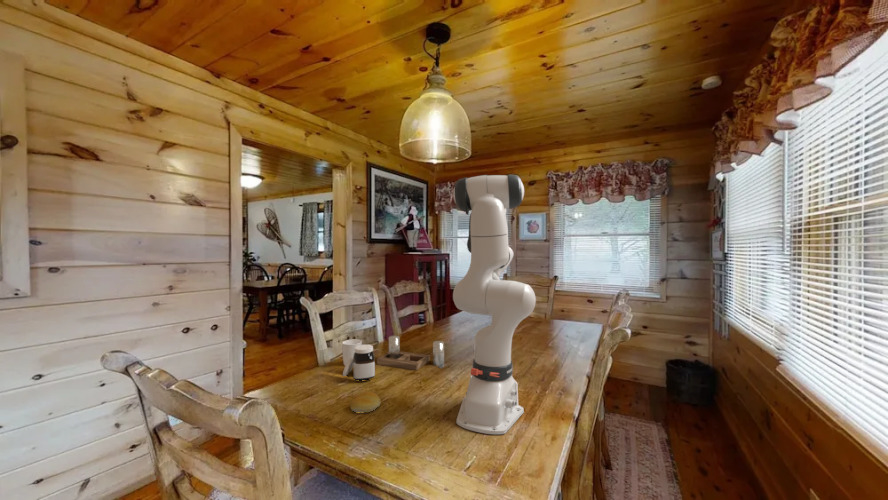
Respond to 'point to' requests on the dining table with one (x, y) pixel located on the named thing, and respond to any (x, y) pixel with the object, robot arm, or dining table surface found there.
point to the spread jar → (361, 363)
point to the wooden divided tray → (404, 360)
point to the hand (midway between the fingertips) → (467, 301)
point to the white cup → (349, 349)
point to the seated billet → (394, 347)
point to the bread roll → (365, 402)
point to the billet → (438, 353)
